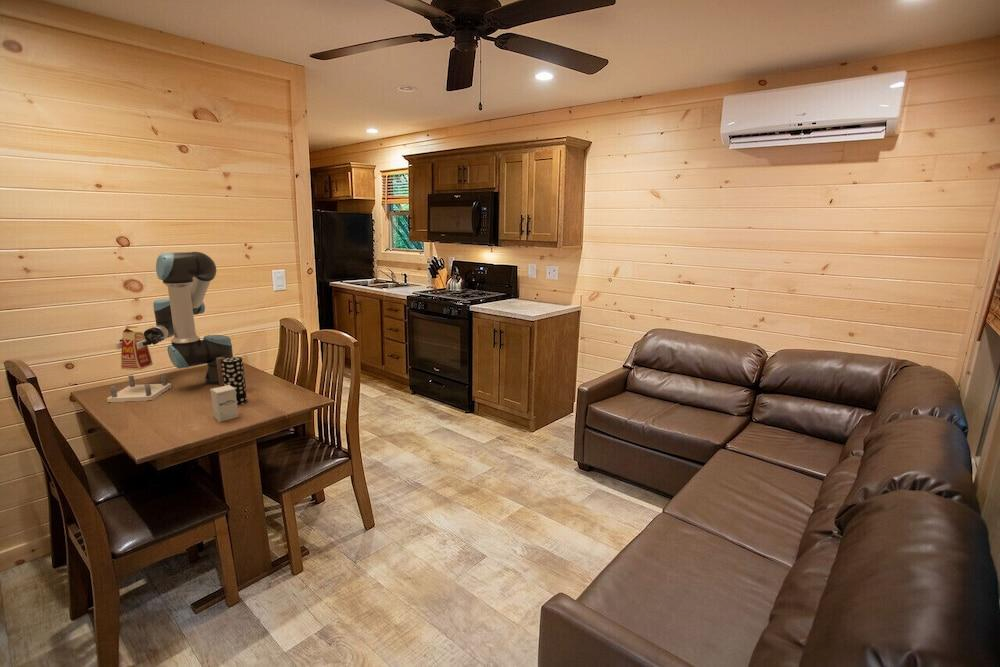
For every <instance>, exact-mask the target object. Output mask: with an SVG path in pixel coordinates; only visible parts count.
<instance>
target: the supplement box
mask: <svg viewBox="0 0 1000 667" xmlns="http://www.w3.org/2000/svg"><path fill="white" fill-rule="evenodd" d="M209 391H210V397H211V404H212V405H211V406H212V412H213V418H215V419H216V420H217V421H218V422H220V423H222V422H225V421H228V420H232V419H237V418H239V410H238V405H237V399H236V390H235V388H233V387H232V386H230V385H227V386H222V387H220V386H219V387H213V388H210V390H209Z"/></svg>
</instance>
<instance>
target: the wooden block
mask: <svg viewBox="0 0 1000 667" xmlns="http://www.w3.org/2000/svg"><path fill="white" fill-rule="evenodd" d="M222 359H225V357H218V358H216V362H217V370H218V378H219V385H218V386H219V387H222V386H224V385H223V377H222V370H221V362H220V361H221V360H222ZM244 367H245V366H244V365H243V371H244V372H245V368H244ZM244 380H245V381H246V374H245V373H244ZM245 388H246V389H247V385H246V382H245Z"/></svg>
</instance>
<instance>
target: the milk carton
mask: <svg viewBox="0 0 1000 667" xmlns="http://www.w3.org/2000/svg"><path fill="white" fill-rule="evenodd" d="M121 336H122V338H121V339H122V348H121V349H120V351H121V352H120V355H121V356H120V370H130V371H131V370H132V371H134V370H135V371H141V370H144V369H145V368H148V367H150V366H152V365H153V359H152V354H151V352H150V348H149V345H147V346H145V347H143V348H140V349H137V344H136V343H138V342H140V341H143V340H146V339H145V337H144V331H142V330H141V329H139V326H138V325H132V326H131V325H125V329H124V330H123V331H122V335H121Z"/></svg>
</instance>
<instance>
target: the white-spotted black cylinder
mask: <svg viewBox="0 0 1000 667" xmlns="http://www.w3.org/2000/svg"><path fill="white" fill-rule="evenodd" d="M220 362H221V370H222V377H223V385H224V386H227V385H230V386H232V387H233V388H235V390H236V399H237V406H242V405H244V404H246V403H247V402H248V398H247V387H246V388H245V383H246V379H245V380H244V374H245V370H244V371H243V366H244V362H243V358H242V357H240V356H233V357H229V358H225V359H222V360H221V361H220Z"/></svg>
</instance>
